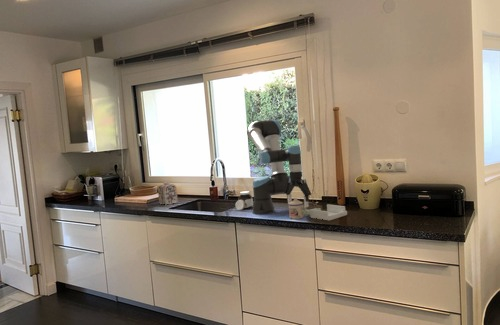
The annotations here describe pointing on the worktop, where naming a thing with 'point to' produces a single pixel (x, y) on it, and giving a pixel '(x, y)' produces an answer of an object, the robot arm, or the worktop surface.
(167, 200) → the decorative jar
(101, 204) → the worktop surface
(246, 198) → the spread jar
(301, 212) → the teacup with lid
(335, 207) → the end holder
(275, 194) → the robot arm
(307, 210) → the clip
